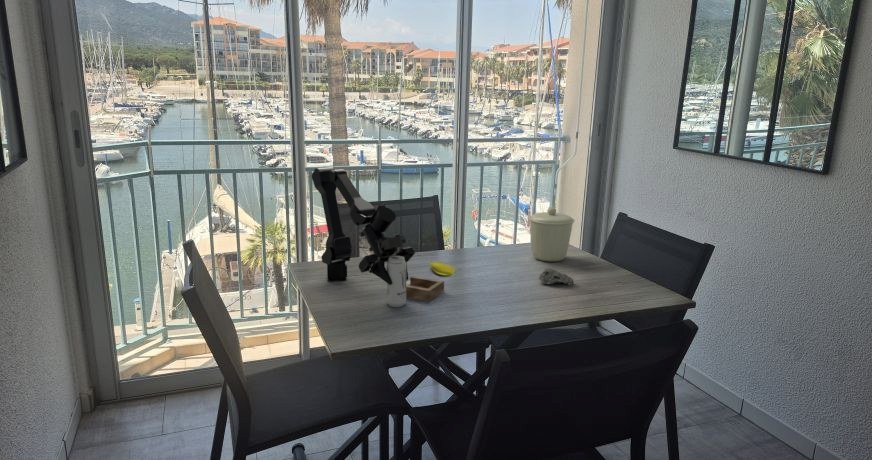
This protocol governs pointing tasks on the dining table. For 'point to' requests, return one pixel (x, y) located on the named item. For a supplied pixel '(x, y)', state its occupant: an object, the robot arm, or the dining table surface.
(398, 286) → the energy drink can
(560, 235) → the canister
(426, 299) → the wooden tray
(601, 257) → the dining table surface
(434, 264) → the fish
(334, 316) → the dining table surface
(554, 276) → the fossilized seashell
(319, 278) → the dining table surface
